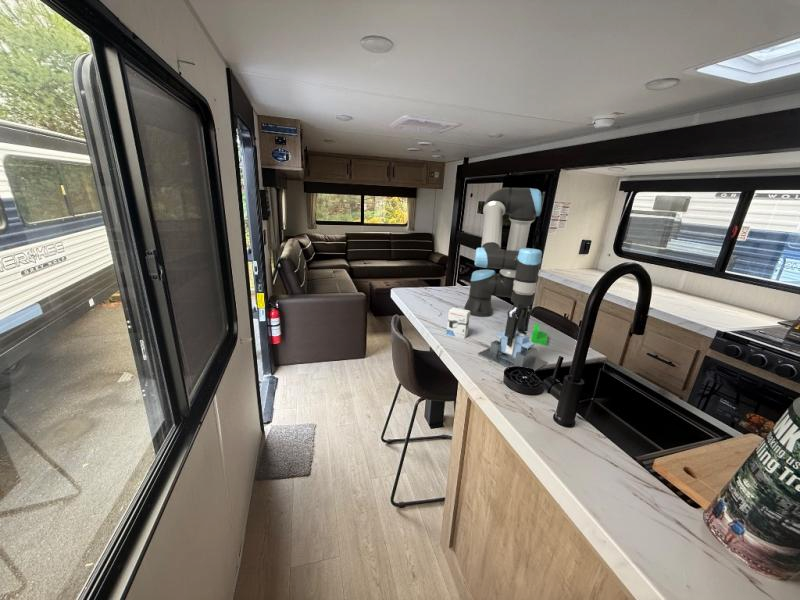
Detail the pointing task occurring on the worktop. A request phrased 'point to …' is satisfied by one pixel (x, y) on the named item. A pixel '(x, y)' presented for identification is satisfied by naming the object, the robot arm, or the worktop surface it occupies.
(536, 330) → the mechanical part
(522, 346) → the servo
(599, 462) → the worktop surface
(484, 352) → the chassis pocket
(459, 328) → the ink box
